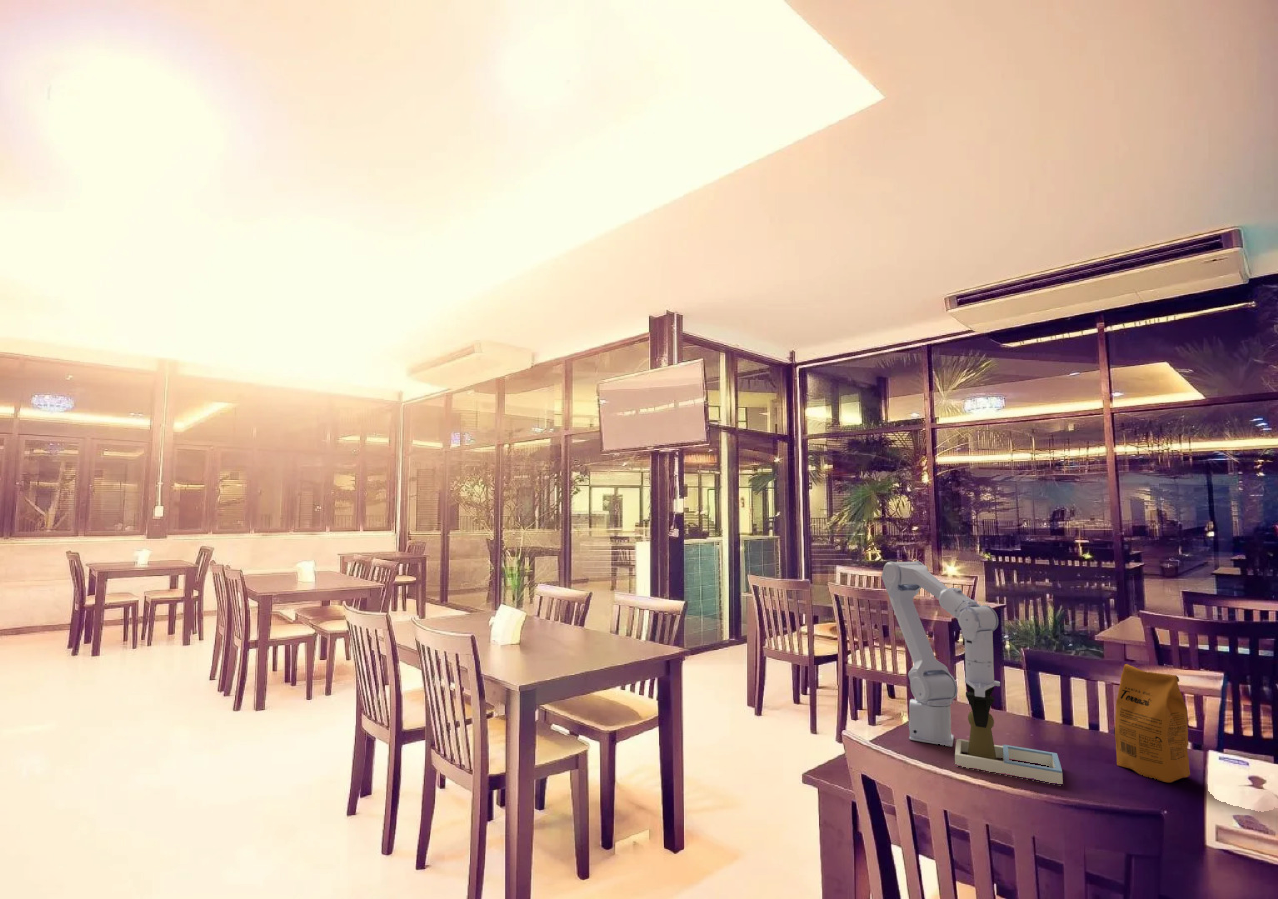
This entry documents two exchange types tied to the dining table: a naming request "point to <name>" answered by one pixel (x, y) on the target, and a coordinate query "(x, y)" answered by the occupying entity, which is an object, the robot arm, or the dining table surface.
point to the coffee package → (1151, 725)
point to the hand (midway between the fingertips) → (981, 721)
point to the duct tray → (1013, 762)
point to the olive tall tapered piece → (981, 739)
